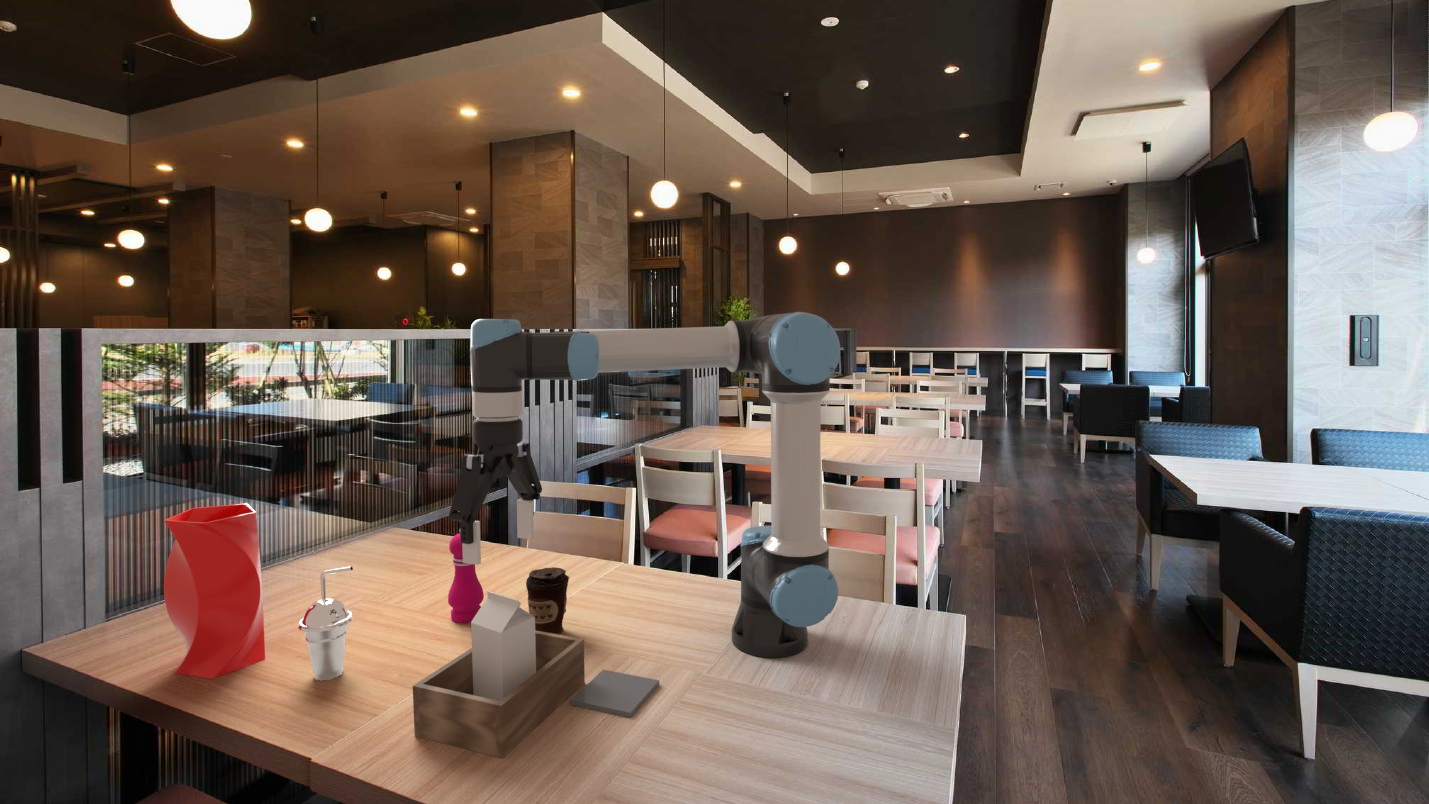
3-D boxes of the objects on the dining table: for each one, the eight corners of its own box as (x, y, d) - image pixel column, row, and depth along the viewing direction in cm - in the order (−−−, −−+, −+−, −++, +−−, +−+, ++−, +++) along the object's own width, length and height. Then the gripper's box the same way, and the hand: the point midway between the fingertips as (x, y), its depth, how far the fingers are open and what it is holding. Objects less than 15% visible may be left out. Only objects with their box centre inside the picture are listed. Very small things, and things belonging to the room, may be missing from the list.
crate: (584, 682, 122) (583, 639, 121) (502, 758, 100) (501, 705, 100) (508, 667, 127) (506, 625, 126) (414, 735, 106) (412, 685, 105)
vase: (159, 668, 126) (147, 517, 123) (239, 636, 139) (229, 499, 137) (215, 684, 121) (203, 527, 118) (292, 649, 134) (283, 507, 131)
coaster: (659, 684, 121) (659, 680, 121) (630, 717, 111) (630, 712, 111) (603, 673, 125) (603, 669, 125) (570, 704, 115) (570, 699, 115)
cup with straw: (336, 659, 130) (330, 555, 128) (367, 670, 126) (362, 563, 124) (290, 679, 122) (284, 569, 120) (322, 692, 118) (316, 578, 116)
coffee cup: (558, 645, 136) (557, 581, 135) (518, 641, 138) (517, 578, 136) (575, 626, 145) (574, 566, 143) (538, 623, 146) (537, 563, 145)
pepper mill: (441, 620, 147) (437, 528, 145) (465, 608, 154) (462, 520, 152) (468, 626, 145) (465, 532, 142) (491, 613, 151) (488, 523, 149)
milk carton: (503, 724, 109) (500, 607, 107) (473, 711, 113) (469, 598, 111) (537, 704, 115) (534, 593, 113) (507, 692, 119) (504, 584, 117)
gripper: (524, 408, 122) (526, 526, 124) (419, 426, 98) (424, 571, 101) (561, 410, 119) (563, 531, 121) (463, 429, 96) (466, 578, 98)
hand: (500, 550), depth 111 cm, fingers open, 13 cm apart
